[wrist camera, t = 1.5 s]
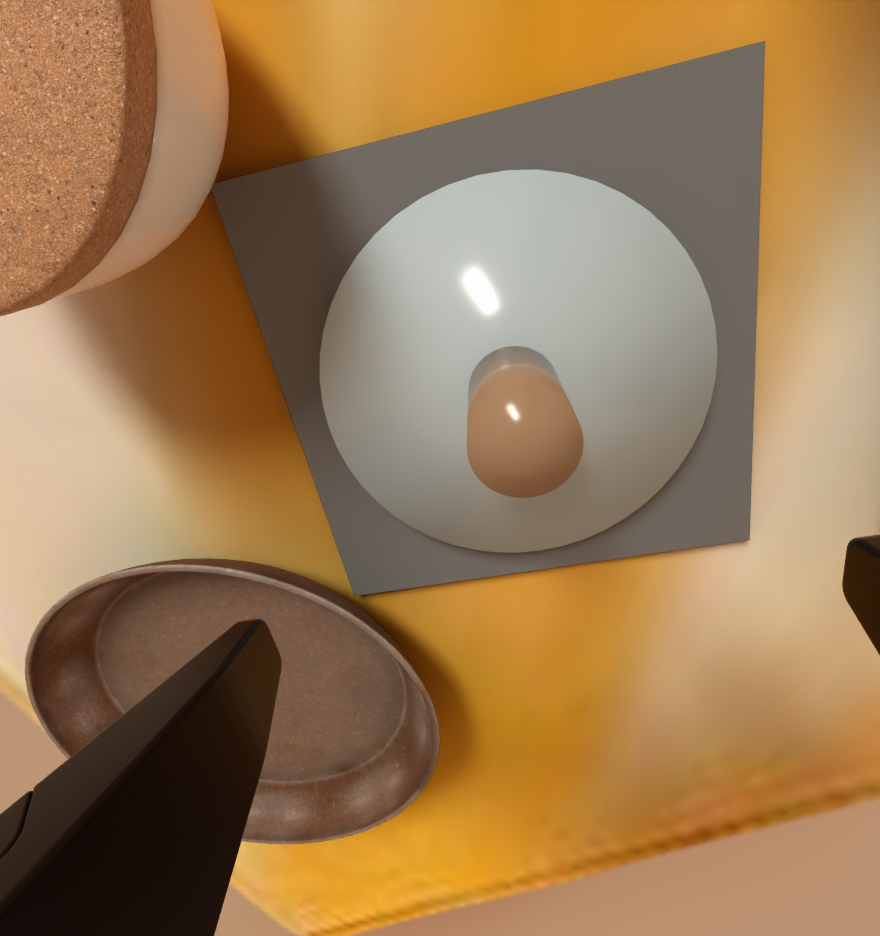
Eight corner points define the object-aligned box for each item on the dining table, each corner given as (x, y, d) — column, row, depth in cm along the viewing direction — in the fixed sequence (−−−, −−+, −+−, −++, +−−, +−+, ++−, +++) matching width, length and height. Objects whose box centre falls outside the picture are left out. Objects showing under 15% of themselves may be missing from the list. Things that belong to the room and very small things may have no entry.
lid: (705, 119, 16) (810, 86, 11) (709, 513, 21) (780, 608, 16) (272, 226, 17) (194, 239, 13) (379, 562, 23) (354, 661, 18)
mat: (757, 44, 15) (764, 41, 15) (744, 534, 22) (749, 539, 22) (214, 184, 17) (209, 184, 17) (356, 589, 24) (354, 596, 24)
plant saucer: (450, 797, 30) (447, 859, 27) (135, 785, 31) (103, 842, 28) (434, 518, 22) (427, 567, 19) (9, 519, 23) (-54, 564, 20)
